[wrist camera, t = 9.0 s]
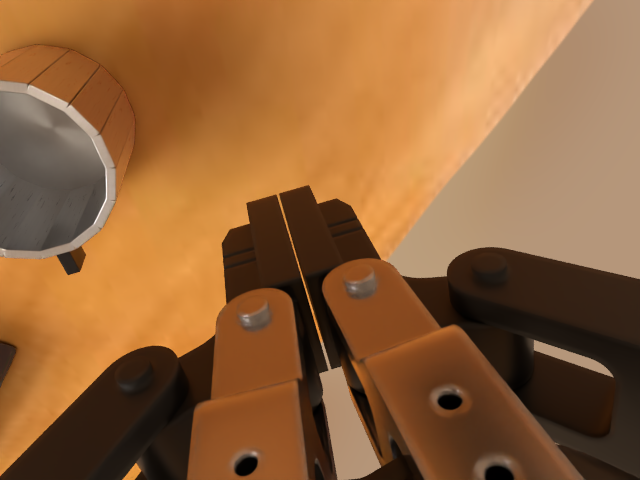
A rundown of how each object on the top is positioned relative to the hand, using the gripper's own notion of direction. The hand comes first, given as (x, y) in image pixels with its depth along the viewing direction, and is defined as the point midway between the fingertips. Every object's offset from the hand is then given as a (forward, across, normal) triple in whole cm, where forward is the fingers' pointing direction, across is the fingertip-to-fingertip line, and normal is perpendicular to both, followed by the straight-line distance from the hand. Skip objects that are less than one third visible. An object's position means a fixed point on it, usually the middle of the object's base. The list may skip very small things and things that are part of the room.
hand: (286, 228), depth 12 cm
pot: (+19, +7, +1) cm, 21 cm away
